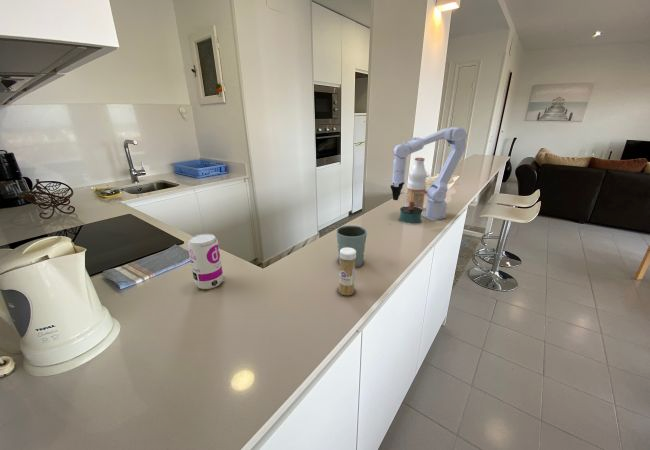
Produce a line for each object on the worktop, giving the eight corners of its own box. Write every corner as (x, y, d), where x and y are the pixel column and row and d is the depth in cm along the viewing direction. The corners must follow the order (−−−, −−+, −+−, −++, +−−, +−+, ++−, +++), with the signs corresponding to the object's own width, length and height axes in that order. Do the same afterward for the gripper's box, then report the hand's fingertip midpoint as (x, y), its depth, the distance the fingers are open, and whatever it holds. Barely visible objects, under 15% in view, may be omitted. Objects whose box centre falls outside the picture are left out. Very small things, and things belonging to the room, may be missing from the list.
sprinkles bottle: (336, 294, 80) (337, 252, 75) (341, 285, 84) (342, 245, 79) (351, 297, 78) (353, 255, 74) (356, 289, 82) (358, 248, 77)
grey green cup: (370, 261, 98) (372, 230, 94) (353, 272, 91) (354, 239, 87) (348, 252, 104) (349, 223, 100) (330, 262, 98) (330, 230, 93)
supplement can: (229, 278, 88) (223, 234, 82) (211, 292, 80) (203, 246, 75) (208, 273, 90) (201, 231, 85) (189, 287, 83) (179, 242, 78)
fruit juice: (401, 208, 155) (407, 158, 145) (410, 205, 161) (416, 156, 151) (417, 212, 149) (423, 159, 139) (425, 209, 155) (432, 158, 145)
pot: (410, 216, 143) (411, 206, 141) (424, 222, 135) (426, 212, 133) (395, 219, 139) (396, 208, 137) (408, 225, 131) (410, 214, 129)
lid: (411, 207, 142) (413, 197, 140) (426, 213, 133) (428, 203, 131) (395, 210, 138) (396, 200, 136) (409, 216, 129) (411, 205, 127)
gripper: (392, 167, 140) (390, 193, 145) (388, 172, 128) (386, 201, 133) (406, 168, 138) (403, 194, 143) (404, 173, 125) (401, 202, 130)
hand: (396, 198), depth 138 cm, fingers open, 7 cm apart
